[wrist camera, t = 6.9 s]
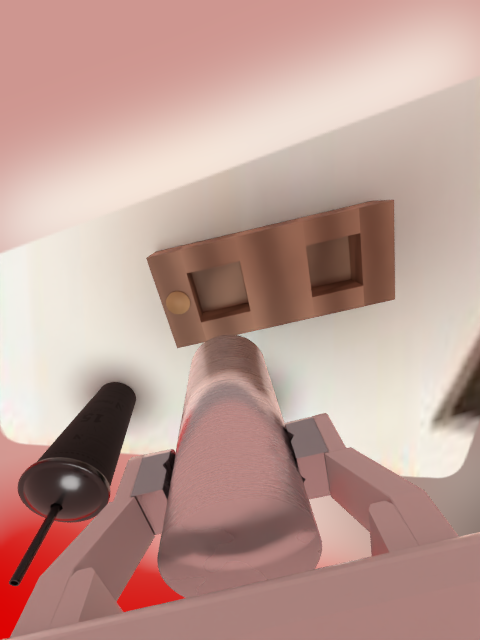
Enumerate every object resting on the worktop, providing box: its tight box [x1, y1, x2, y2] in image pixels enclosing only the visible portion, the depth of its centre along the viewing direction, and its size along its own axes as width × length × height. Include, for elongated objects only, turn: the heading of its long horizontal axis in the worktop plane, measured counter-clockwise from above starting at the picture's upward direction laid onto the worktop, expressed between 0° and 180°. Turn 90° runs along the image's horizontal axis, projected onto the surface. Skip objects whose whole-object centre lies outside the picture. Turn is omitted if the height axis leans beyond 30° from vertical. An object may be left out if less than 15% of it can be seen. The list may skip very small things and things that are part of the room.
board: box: [146, 200, 395, 348], centre depth 30 cm, size 24×10×4 cm, turn 102°
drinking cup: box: [9, 382, 136, 586], centre depth 28 cm, size 8×8×20 cm
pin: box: [158, 335, 322, 598], centre depth 11 cm, size 4×4×9 cm
